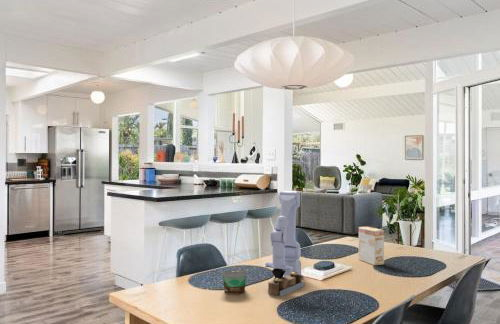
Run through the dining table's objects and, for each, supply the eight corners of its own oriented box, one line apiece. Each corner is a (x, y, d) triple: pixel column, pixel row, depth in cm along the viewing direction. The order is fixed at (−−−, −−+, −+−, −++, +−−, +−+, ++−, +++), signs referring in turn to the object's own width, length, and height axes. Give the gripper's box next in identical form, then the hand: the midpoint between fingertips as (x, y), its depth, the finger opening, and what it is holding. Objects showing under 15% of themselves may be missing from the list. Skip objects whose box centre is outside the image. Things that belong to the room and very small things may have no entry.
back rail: (302, 286, 204) (302, 281, 204) (304, 286, 204) (304, 282, 204) (279, 295, 190) (279, 291, 190) (281, 296, 190) (281, 291, 190)
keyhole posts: (292, 284, 207) (292, 271, 207) (299, 285, 204) (299, 272, 204) (271, 293, 194) (271, 279, 194) (278, 294, 192) (278, 280, 192)
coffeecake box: (384, 264, 243) (384, 229, 242) (374, 265, 240) (374, 230, 240) (368, 258, 257) (367, 225, 256) (358, 259, 254) (357, 226, 254)
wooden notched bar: (292, 283, 208) (293, 273, 208) (301, 285, 205) (301, 275, 205) (268, 293, 194) (268, 282, 194) (277, 295, 190) (277, 284, 190)
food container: (224, 296, 191) (223, 273, 190) (221, 291, 197) (221, 270, 196) (250, 293, 194) (250, 271, 194) (247, 289, 200) (247, 268, 200)
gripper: (261, 255, 203) (261, 283, 203) (286, 259, 194) (286, 289, 194) (270, 252, 209) (270, 280, 209) (295, 256, 199) (295, 286, 200)
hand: (278, 284), depth 202 cm, fingers closed
